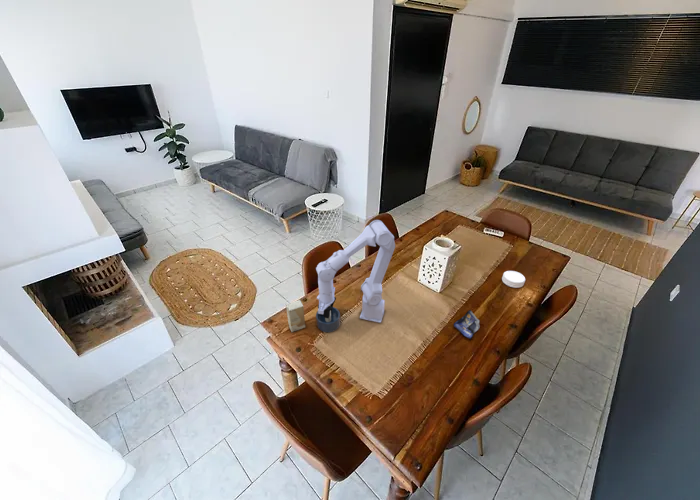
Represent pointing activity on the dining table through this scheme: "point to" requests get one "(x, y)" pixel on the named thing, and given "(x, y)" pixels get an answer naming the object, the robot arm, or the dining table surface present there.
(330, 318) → the dowel
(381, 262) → the robot arm
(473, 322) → the snack package
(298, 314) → the cosmetic box
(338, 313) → the holder
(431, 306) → the dining table surface
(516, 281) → the white round disc
